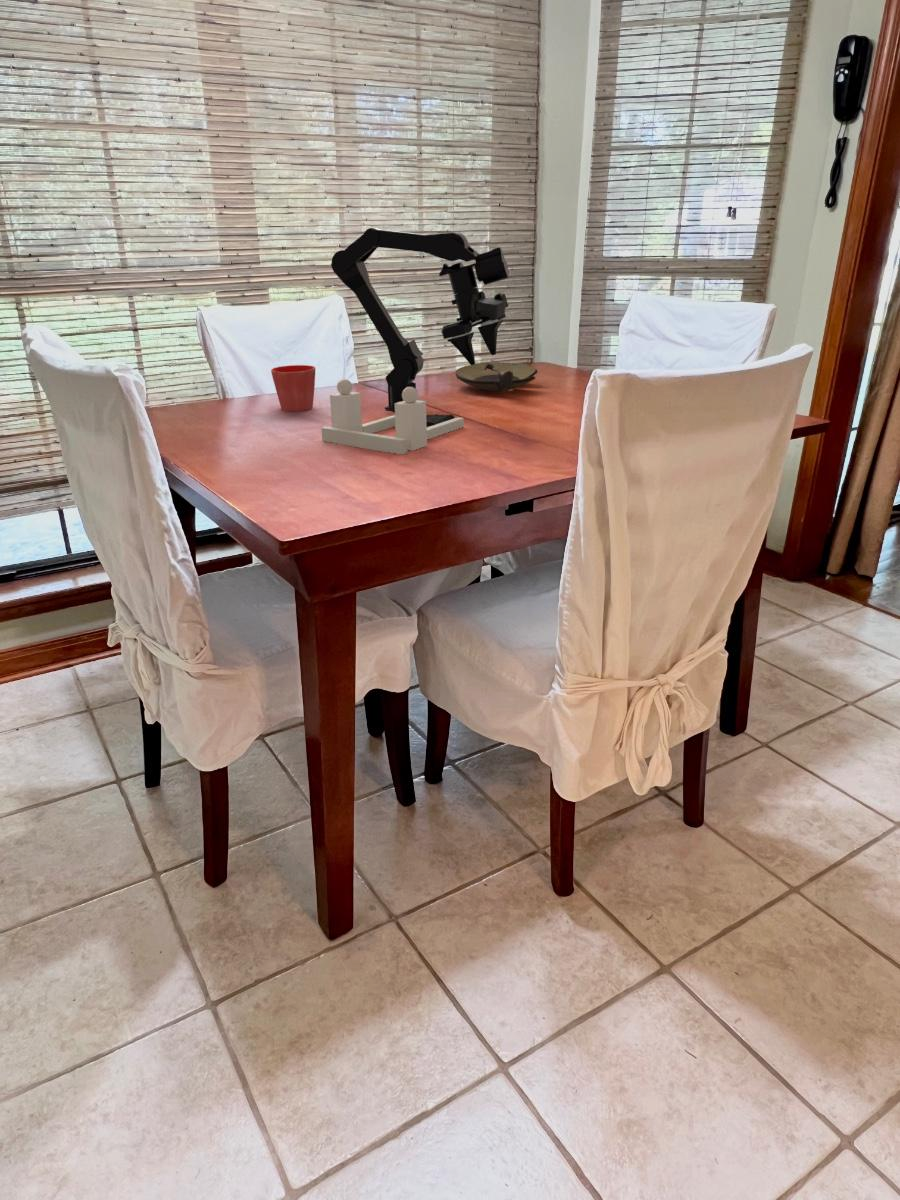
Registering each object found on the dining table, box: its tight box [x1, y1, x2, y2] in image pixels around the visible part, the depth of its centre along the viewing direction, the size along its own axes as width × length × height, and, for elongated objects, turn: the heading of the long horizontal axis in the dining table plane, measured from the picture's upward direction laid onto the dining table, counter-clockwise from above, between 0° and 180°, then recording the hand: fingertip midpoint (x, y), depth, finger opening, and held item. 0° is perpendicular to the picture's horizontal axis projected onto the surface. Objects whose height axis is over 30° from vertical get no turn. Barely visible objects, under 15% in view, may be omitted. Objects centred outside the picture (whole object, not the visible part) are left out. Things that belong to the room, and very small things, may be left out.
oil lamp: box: [455, 361, 538, 392], centre depth 219 cm, size 22×30×8 cm
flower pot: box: [270, 364, 316, 412], centre depth 199 cm, size 11×11×10 cm
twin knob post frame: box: [321, 378, 465, 456], centre depth 172 cm, size 21×26×12 cm
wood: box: [426, 413, 455, 427], centre depth 180 cm, size 22×7×3 cm, turn 161°
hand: (483, 359), depth 191 cm, fingers open, 9 cm apart
